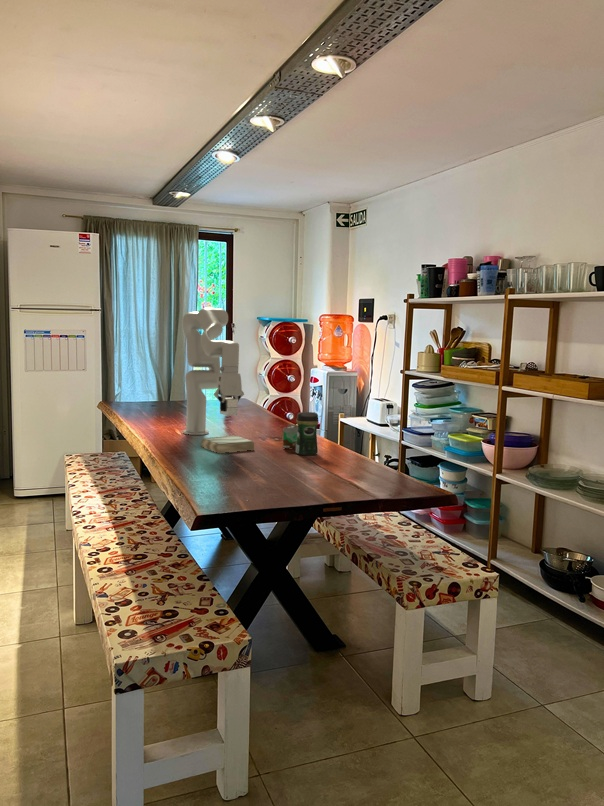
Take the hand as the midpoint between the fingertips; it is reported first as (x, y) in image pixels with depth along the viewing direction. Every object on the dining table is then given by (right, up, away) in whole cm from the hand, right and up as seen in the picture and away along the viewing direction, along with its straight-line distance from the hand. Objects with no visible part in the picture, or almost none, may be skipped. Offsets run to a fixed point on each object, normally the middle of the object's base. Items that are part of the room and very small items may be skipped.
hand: (228, 410), depth 291 cm
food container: (+28, -17, +10) cm, 34 cm away
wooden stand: (-1, -17, +2) cm, 17 cm away
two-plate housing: (0, -2, 0) cm, 2 cm away
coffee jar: (+34, -19, -2) cm, 39 cm away
